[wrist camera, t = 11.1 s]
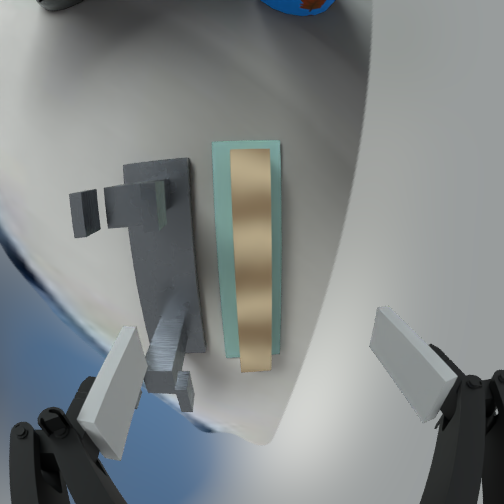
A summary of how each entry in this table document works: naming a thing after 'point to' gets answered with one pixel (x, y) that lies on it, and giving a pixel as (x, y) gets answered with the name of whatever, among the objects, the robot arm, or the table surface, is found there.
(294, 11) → the thermos
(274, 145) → the mat
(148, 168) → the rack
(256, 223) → the rail
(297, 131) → the table surface
